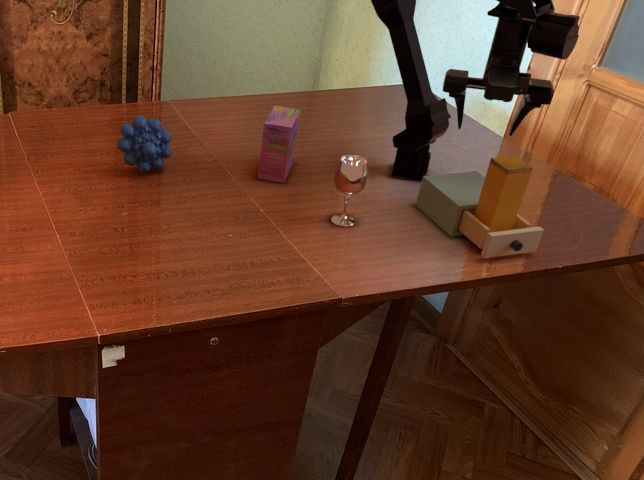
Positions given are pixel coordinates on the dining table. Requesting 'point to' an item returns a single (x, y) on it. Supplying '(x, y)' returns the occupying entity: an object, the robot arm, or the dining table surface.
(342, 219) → the wineglass
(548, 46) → the robot arm
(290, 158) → the box
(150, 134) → the blue knobby rounded piece
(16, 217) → the dining table surface
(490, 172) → the carton
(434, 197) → the cabinet
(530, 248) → the drawer
